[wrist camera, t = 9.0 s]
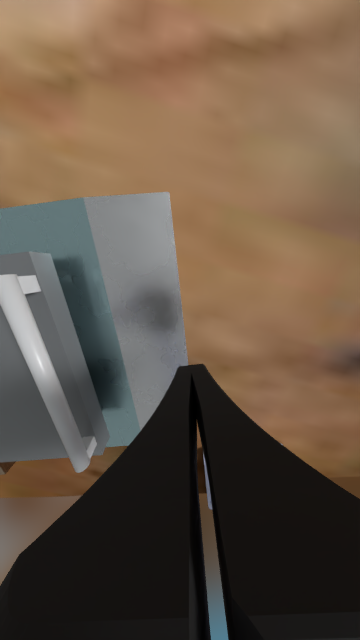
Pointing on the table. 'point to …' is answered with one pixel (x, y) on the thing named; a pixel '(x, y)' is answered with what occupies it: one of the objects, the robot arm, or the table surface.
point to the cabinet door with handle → (43, 370)
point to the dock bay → (113, 295)
